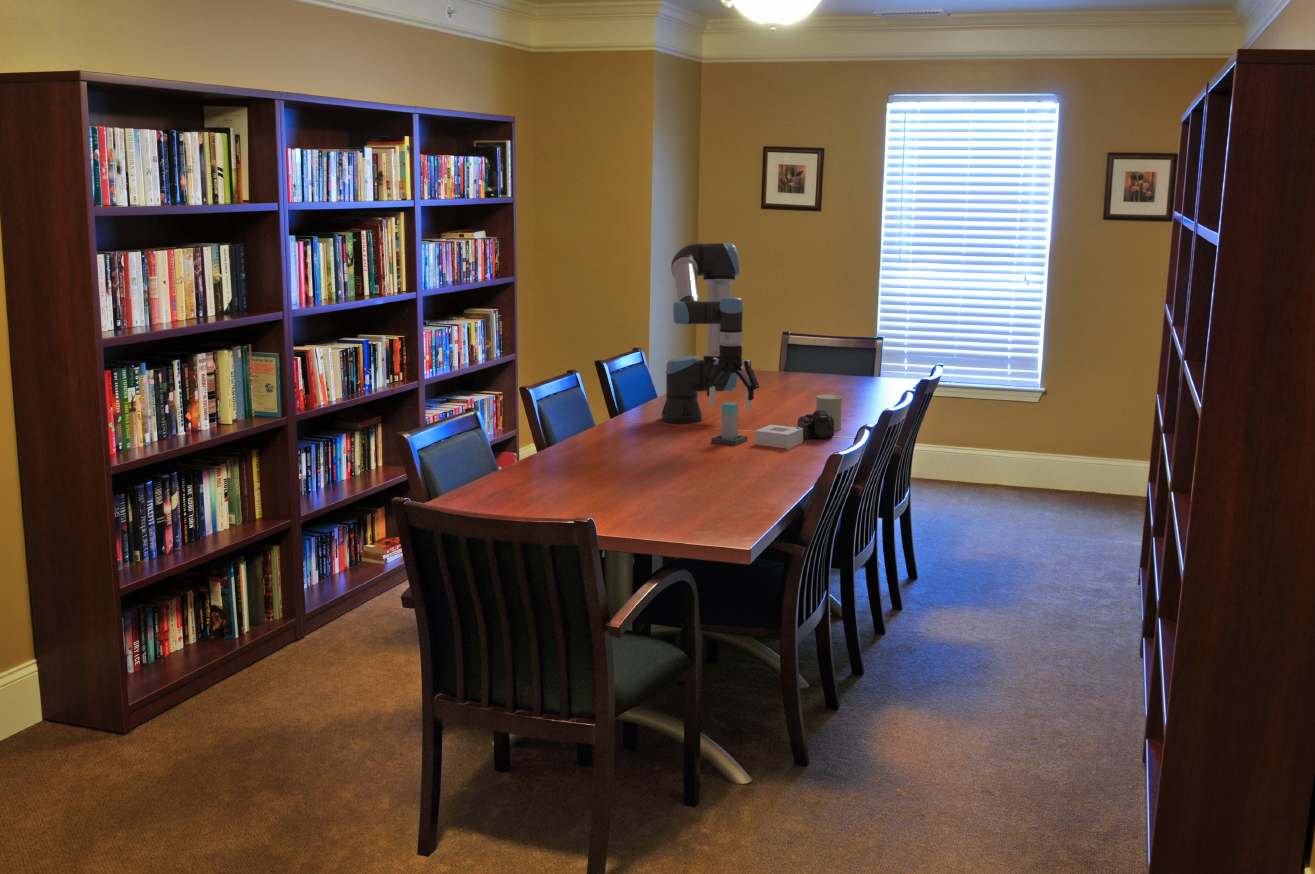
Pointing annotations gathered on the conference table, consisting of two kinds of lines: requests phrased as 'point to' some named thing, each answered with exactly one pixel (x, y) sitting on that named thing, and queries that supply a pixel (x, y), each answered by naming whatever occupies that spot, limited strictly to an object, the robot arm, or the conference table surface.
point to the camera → (817, 425)
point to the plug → (729, 421)
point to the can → (831, 407)
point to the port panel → (779, 436)
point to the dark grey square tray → (729, 442)
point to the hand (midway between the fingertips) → (730, 408)
